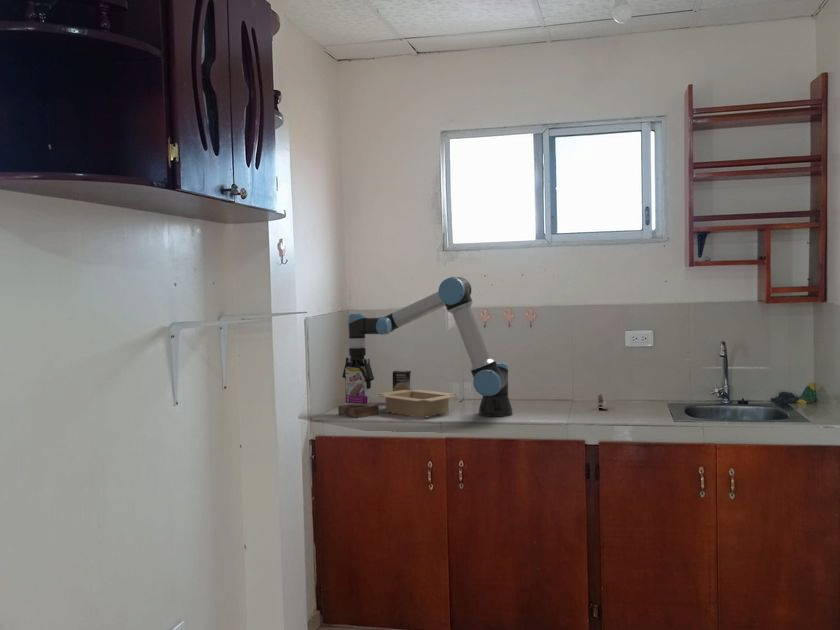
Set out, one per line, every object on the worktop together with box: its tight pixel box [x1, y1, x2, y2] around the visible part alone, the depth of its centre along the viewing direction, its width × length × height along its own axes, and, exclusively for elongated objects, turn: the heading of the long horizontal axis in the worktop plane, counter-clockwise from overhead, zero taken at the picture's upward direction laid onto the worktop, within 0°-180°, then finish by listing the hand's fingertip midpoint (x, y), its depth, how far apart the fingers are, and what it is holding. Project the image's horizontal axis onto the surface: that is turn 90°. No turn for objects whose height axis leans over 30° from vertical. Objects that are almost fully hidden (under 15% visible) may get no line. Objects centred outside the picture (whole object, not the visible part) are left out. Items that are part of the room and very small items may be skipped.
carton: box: [378, 389, 458, 418], centre depth 349 cm, size 34×26×8 cm
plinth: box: [337, 403, 380, 419], centre depth 346 cm, size 13×13×4 cm
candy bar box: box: [344, 367, 372, 404], centre depth 345 cm, size 11×5×16 cm, turn 70°
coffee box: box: [392, 370, 412, 392], centre depth 376 cm, size 9×6×16 cm
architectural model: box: [597, 393, 607, 409], centre depth 348 cm, size 3×7×7 cm, turn 165°
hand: (358, 394), depth 346 cm, fingers closed on candy bar box, 12 cm apart
